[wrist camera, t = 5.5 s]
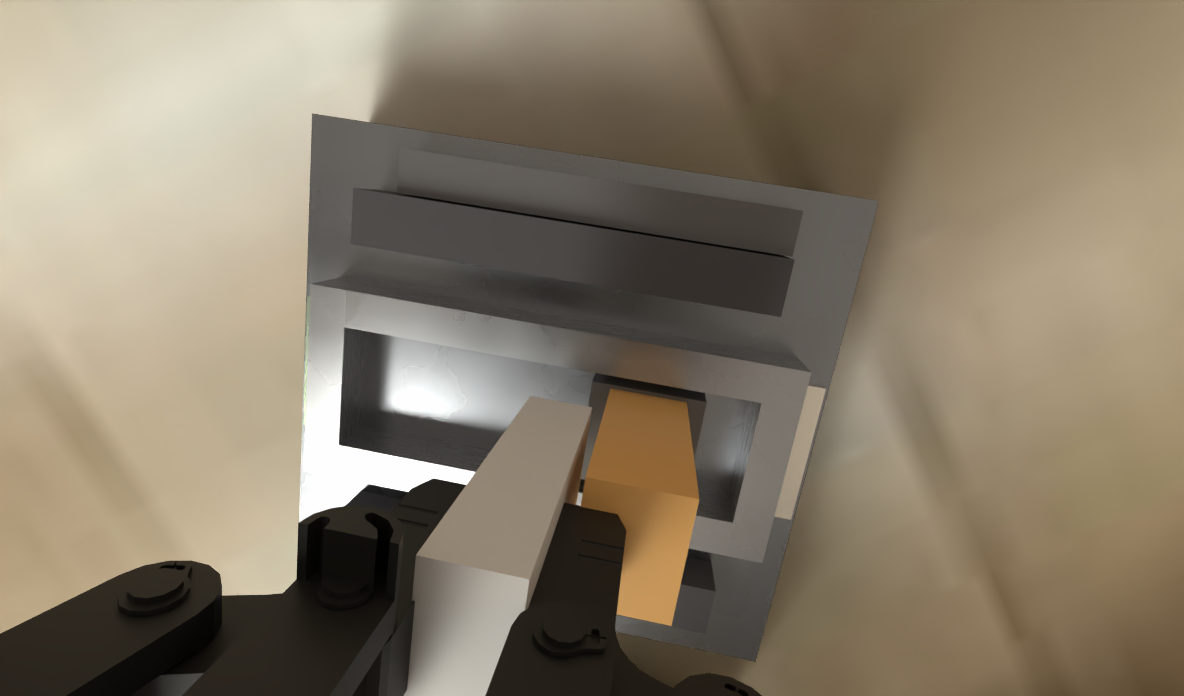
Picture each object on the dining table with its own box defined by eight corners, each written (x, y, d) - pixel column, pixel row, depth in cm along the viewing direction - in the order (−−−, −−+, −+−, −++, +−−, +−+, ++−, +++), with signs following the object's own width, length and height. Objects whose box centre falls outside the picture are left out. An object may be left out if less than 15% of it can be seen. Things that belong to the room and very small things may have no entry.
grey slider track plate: (358, 530, 19) (335, 555, 17) (381, 145, 16) (356, 140, 14) (702, 601, 18) (705, 633, 17) (793, 210, 15) (806, 210, 14)
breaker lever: (582, 459, 17) (537, 602, 11) (596, 369, 16) (558, 466, 10) (684, 479, 17) (697, 635, 11) (703, 388, 16) (729, 499, 10)
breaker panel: (345, 517, 22) (268, 592, 18) (366, 128, 19) (276, 104, 14) (742, 598, 21) (763, 701, 17) (843, 201, 18) (902, 200, 13)
